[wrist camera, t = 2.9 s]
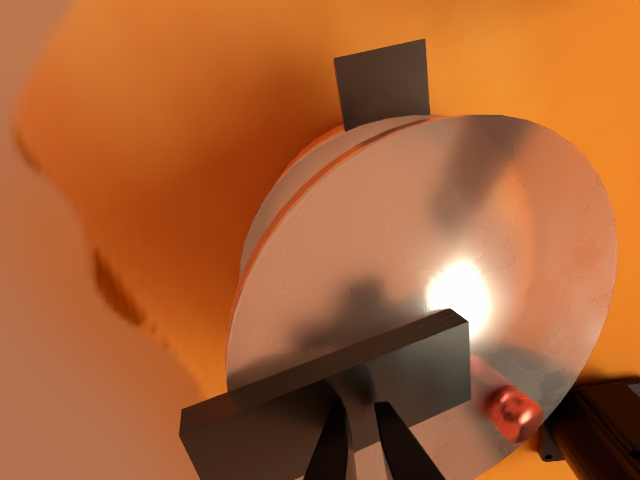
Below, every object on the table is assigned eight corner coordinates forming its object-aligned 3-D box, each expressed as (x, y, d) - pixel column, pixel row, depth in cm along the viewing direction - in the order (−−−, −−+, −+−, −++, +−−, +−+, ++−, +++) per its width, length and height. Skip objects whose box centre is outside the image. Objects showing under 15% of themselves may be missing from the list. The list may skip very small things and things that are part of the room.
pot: (514, 360, 21) (566, 431, 17) (298, 388, 23) (291, 462, 18) (525, 29, 15) (617, -6, 10) (216, 95, 16) (170, 91, 11)
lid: (571, 401, 16) (618, 436, 14) (260, 554, 13) (268, 626, 11) (610, 75, 11) (692, 65, 9) (100, 193, 7) (65, 214, 6)
